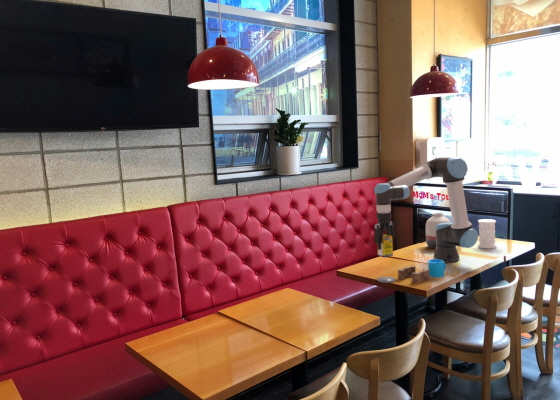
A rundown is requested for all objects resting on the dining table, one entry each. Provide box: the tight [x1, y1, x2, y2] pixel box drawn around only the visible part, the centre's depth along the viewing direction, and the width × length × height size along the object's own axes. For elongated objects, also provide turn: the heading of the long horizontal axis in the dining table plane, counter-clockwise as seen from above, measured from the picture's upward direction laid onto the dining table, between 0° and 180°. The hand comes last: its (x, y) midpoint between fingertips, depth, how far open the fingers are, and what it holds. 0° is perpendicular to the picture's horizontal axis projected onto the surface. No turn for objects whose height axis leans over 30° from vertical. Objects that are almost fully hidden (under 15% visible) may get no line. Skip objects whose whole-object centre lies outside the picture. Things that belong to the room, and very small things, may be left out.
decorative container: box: [477, 218, 498, 250], centre depth 300 cm, size 12×12×18 cm
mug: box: [427, 258, 447, 278], centre depth 246 cm, size 12×8×8 cm
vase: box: [425, 212, 451, 250], centre depth 306 cm, size 17×17×24 cm
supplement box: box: [376, 234, 394, 258], centre depth 240 cm, size 6×6×11 cm
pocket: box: [397, 265, 431, 284], centre depth 242 cm, size 11×12×5 cm
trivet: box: [376, 276, 397, 284], centre depth 242 cm, size 10×10×1 cm
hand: (385, 253), depth 241 cm, fingers closed on supplement box, 6 cm apart
